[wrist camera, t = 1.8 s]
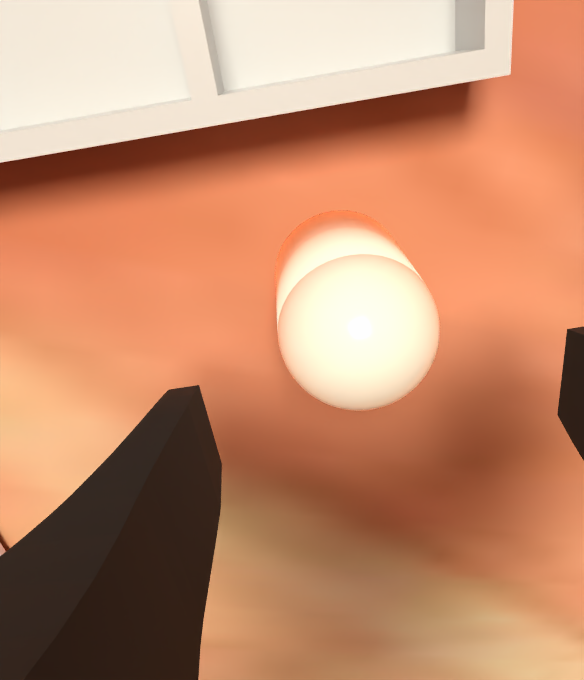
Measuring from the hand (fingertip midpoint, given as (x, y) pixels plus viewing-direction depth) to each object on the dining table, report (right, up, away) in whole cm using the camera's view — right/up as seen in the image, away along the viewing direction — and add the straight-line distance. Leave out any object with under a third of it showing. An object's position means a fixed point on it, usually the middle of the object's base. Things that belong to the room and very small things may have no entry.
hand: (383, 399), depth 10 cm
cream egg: (0, +3, +6) cm, 7 cm away
